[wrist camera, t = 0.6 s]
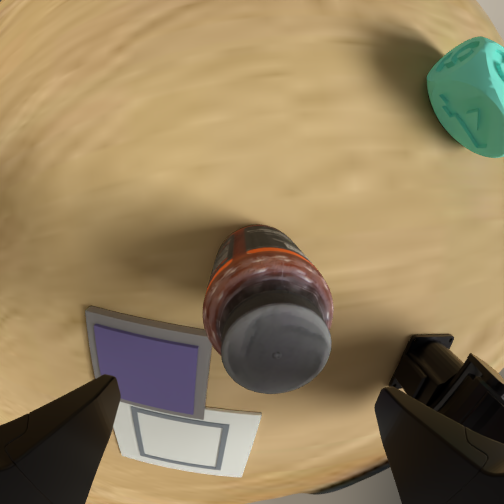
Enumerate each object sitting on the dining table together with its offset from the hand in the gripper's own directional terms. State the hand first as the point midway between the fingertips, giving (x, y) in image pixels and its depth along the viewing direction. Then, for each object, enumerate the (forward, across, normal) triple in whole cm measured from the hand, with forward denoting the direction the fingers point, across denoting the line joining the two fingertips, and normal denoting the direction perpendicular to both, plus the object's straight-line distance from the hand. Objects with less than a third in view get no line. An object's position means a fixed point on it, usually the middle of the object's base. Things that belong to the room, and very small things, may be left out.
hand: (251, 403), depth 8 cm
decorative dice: (+13, -18, -18) cm, 29 cm away
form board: (+13, +6, +20) cm, 25 cm away
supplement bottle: (+13, -1, -1) cm, 13 cm away
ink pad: (+13, +8, +9) cm, 18 cm away
